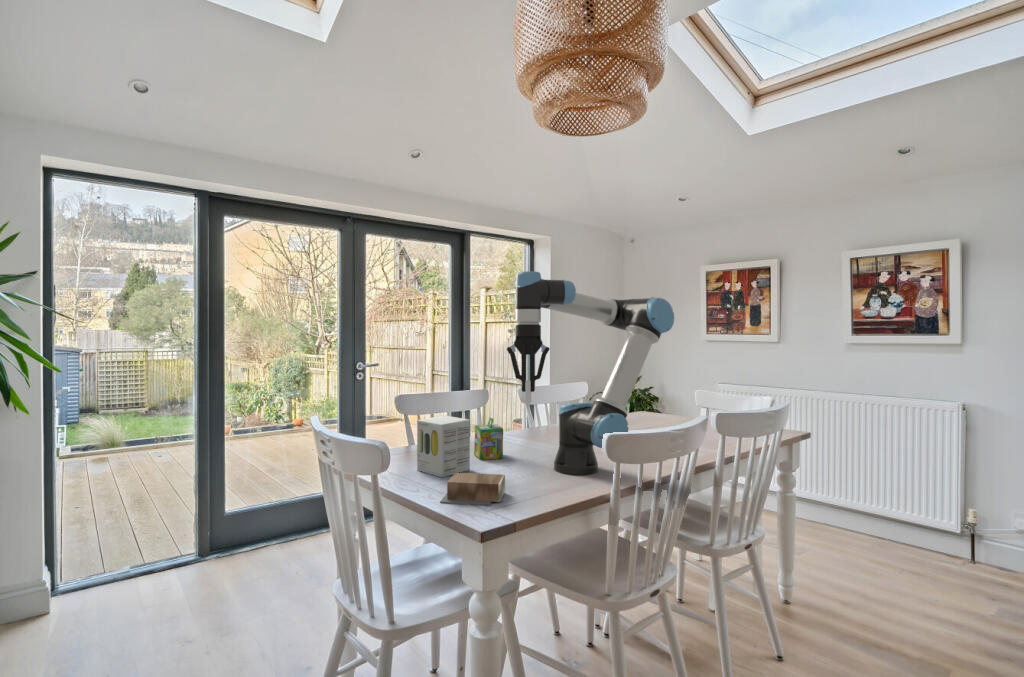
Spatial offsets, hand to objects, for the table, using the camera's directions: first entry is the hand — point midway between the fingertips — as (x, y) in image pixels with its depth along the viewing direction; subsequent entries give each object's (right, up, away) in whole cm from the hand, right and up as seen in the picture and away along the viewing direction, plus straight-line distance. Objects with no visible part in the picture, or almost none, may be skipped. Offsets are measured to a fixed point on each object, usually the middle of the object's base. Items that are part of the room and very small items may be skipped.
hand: (528, 402), depth 162 cm
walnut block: (-8, -24, -6) cm, 26 cm away
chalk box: (-14, -26, +43) cm, 52 cm away
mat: (-17, -27, -4) cm, 32 cm away
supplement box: (-28, -26, +24) cm, 45 cm away
